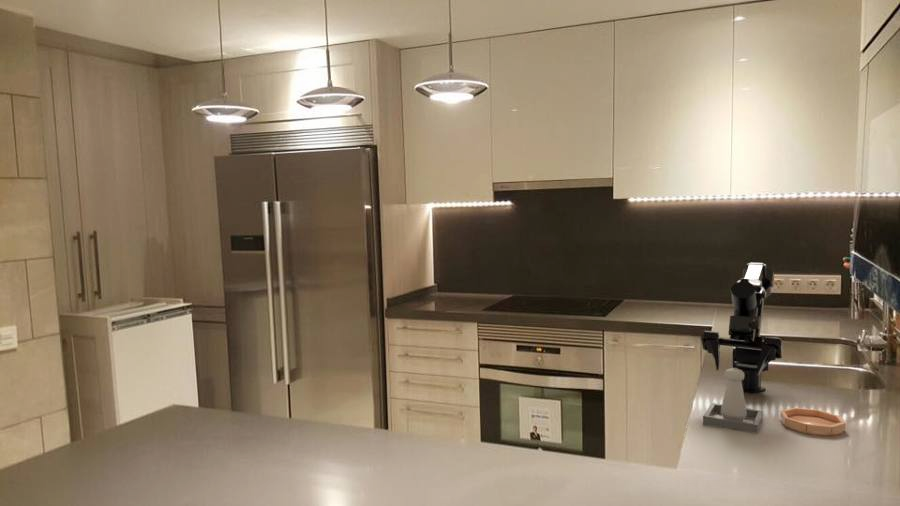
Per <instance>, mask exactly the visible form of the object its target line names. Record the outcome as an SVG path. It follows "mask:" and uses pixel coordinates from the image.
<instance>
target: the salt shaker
mask: <svg viewBox="0 0 900 506" xmlns="http://www.w3.org/2000/svg"><path fill="white" fill-rule="evenodd" d="M724 377H725V379H726V380H727V383H726V386H725V390H724V396H723V398H722V403H721V404H722V406H721V413H720V414H721V415H722V418H726V419H732V420H738V421H744V420H745V418H747V417H746V414H747V411H746V408H747V405H746V400H745V394H744V391H743V387H742V381H741V380H743V379H744V372H743V371H742V370H740V369H738V368H733V367H731V368H727V369H726V370H725V371H724ZM744 422H745V421H744Z"/></svg>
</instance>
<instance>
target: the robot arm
mask: <svg viewBox="0 0 900 506" xmlns="http://www.w3.org/2000/svg"><path fill="white" fill-rule="evenodd" d="M774 286H775V274H774V270H772V269H770V268H769V267H767V264H766V263H764V262H749V263H748V262H747V264H746V267H745V268H743V270H742V278H741V277H740V279H739V280H737V281H736V282H735V283H733V285H731V288H730V293H729V295H730V299H731V302H732V307H733V314H732V315H729V324H728V336H729V337H720V333H719V331H712V330H704V331H702V333H701V336H700V340H701V345H702V350H704V351H707V353H708V354H711V355H712V357H713V359H714V363H715V368H716V371H719V369H720V357H721V355H720V354H721V353H720V351H721V350H720V348H721V346H726V347H732V348H733V349H732V368H734V369H740V370H742V371H743V372H744V379H743V380H741V381H742V387H743V392H747V393H749V394H750V393H751V394H754V393H758V392H763V391H766V388H765V387H762V372H767V371H769V363H770V362H771V361H773V362H774V361H776V359H782V357H783V340H782V339H781V338H780V337H773V336H764V337H763V338H762V336H761V328H762V322H763V321H762V319H763V312H764V311H763V310H764V305H765V300H766V299H767V298H768V297H770V296H771V294H772V288H774Z"/></svg>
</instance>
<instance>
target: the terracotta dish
mask: <svg viewBox="0 0 900 506" xmlns="http://www.w3.org/2000/svg"><path fill="white" fill-rule="evenodd" d="M779 416H780V418H781V420H780V421H781V424H782V425H783V426H784V427H786V428H788V429H791V430H793V431H796V432H799V433H802V434H803V433H804V434H808V435H814V436H826V437H827V436H830V437H831V436H838V435H841V434H843V433H844V430H846V425H847V423H846V421H844V419H842V417H841V416H840V415H837V414H834V413H830V412H827V411H824V410H821V409H815V408H802V407H791V408H788V409H787V408H786V409H782V410H780V415H779Z"/></svg>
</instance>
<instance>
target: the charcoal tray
mask: <svg viewBox="0 0 900 506" xmlns="http://www.w3.org/2000/svg"><path fill="white" fill-rule="evenodd" d="M721 406H722V403H716V402H711V403H710V405H709V406H708V408H707V409H706V410H705V413H704V414H703V416H702V425H707V426H712V427H717V428H718V427H719V428H724V429H729V430H736V431H741V432H747V433H751V434H752V433H753V434H758V433H759V430H760V428H761V425H762V422H763V419H764V410H760V409H755V408H749V407H748V408H747V407H746V411H747V414H746V417H745V418H749V419H750V418H751V419H754V421H753V422H749V421H738V420H732V419H726V418H723V417H721V416H720V417H719V416H714V414H715V413H720V414H721Z"/></svg>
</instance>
